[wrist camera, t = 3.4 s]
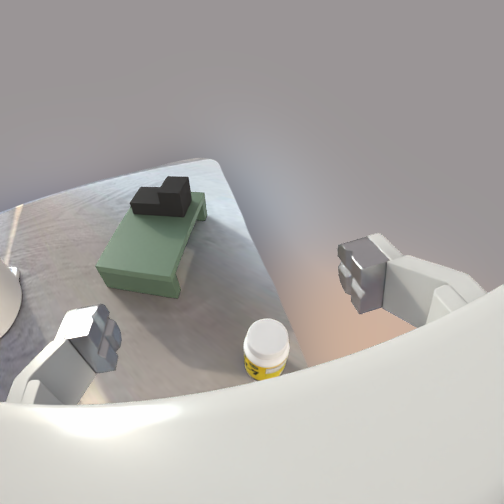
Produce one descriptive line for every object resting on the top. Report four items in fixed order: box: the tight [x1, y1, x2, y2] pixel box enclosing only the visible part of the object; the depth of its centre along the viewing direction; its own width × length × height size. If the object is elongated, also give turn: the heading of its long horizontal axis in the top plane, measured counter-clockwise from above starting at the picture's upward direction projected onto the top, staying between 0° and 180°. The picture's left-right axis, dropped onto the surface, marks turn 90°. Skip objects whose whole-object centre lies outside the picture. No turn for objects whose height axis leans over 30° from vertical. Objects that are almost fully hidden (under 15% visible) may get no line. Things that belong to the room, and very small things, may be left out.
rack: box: [96, 192, 207, 299], centre depth 45 cm, size 12×18×5 cm, turn 172°
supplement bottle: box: [244, 319, 289, 381], centre depth 30 cm, size 5×5×8 cm
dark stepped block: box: [130, 176, 192, 217], centre depth 44 cm, size 9×4×5 cm, turn 82°
